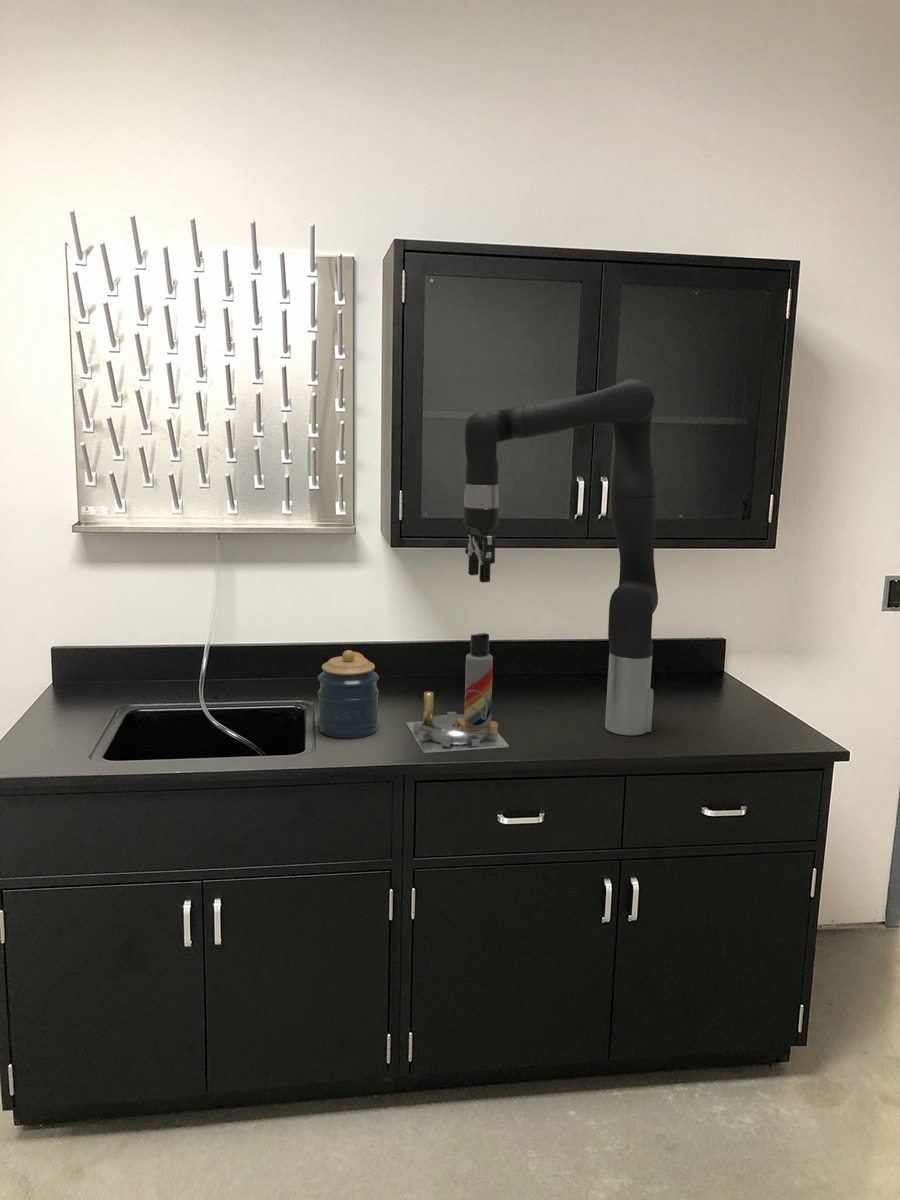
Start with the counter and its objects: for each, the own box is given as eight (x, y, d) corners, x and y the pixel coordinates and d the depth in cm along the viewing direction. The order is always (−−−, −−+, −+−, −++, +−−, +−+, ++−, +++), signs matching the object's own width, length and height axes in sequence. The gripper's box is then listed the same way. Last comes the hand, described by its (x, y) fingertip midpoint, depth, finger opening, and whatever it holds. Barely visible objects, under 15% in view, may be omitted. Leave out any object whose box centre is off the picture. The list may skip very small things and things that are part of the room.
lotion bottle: (474, 730, 197) (477, 637, 193) (458, 722, 201) (461, 631, 197) (496, 725, 200) (499, 634, 196) (480, 718, 204) (482, 628, 200)
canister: (310, 737, 198) (310, 656, 194) (327, 717, 210) (326, 641, 207) (371, 741, 196) (371, 659, 192) (384, 721, 208) (384, 644, 205)
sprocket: (417, 716, 210) (418, 680, 208) (498, 720, 209) (499, 683, 207) (409, 745, 192) (409, 705, 190) (496, 748, 191) (498, 709, 189)
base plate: (484, 719, 211) (484, 717, 211) (508, 747, 194) (508, 745, 194) (406, 724, 207) (406, 722, 207) (423, 752, 190) (423, 751, 190)
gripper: (455, 501, 210) (454, 573, 213) (474, 508, 196) (471, 584, 199) (487, 501, 211) (485, 572, 215) (508, 508, 198) (505, 584, 201)
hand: (478, 578), depth 207 cm, fingers open, 8 cm apart
